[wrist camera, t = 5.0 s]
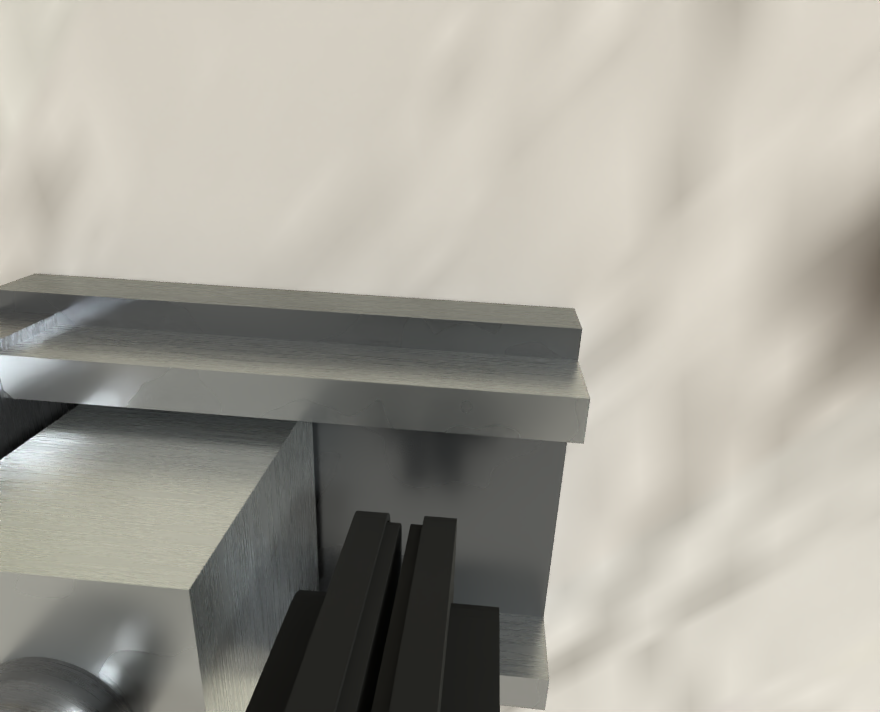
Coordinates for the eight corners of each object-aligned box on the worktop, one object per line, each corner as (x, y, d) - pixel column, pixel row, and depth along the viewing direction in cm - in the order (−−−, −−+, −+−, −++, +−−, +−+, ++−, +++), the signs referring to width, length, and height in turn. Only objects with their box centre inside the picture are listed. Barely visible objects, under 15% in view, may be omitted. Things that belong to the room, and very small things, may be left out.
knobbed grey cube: (311, 399, 12) (130, 680, 6) (321, 656, 14) (200, 1032, 8) (107, 384, 12) (-254, 637, 6) (152, 638, 14) (-78, 992, 9)
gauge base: (574, 308, 12) (631, 459, 7) (534, 623, 15) (552, 894, 10) (35, 273, 13) (-283, 386, 8) (98, 581, 16) (-98, 812, 11)
